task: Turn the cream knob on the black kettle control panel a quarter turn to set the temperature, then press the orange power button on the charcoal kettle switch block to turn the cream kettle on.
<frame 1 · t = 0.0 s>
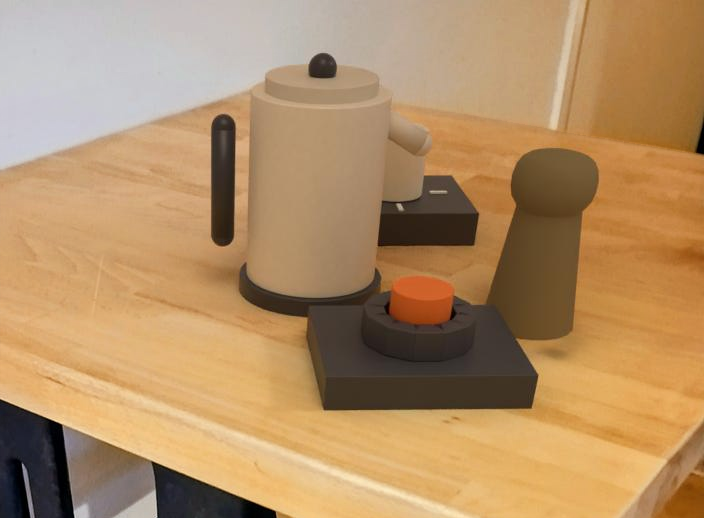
switch block: (412, 371, 62), on the table
temp knob: (395, 158, 81), point 5 cm above the table, hinge at 0.0°
temp panel: (388, 224, 84), on the table
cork: (526, 325, 68), on the table
kettle: (309, 289, 73), on the table
power button: (421, 301, 60), point 4 cm above the table, slide at 0.1 cm
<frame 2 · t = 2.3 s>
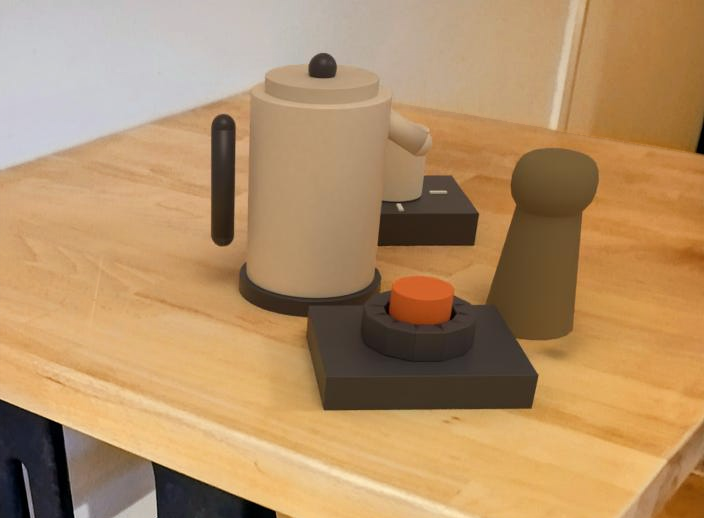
nothing on the table moved.
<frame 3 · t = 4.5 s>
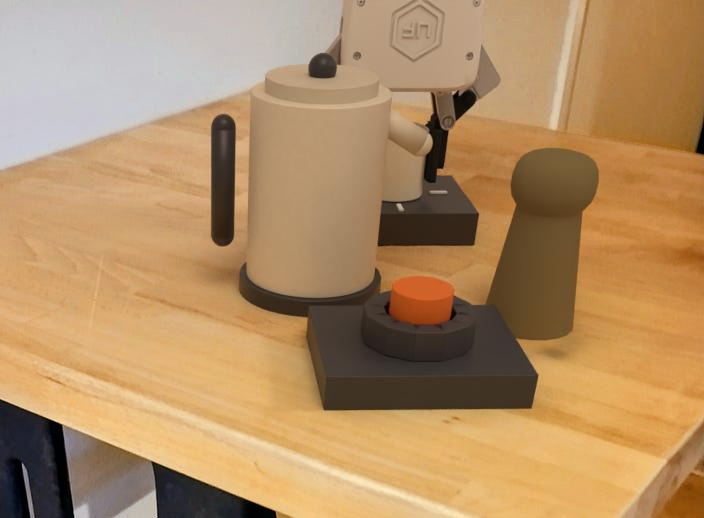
hand: (393, 175, 82), 4 cm above the table, tool pointing down, fingers closed on temp knob, 4 cm apart
temp knob: (395, 158, 81), point 5 cm above the table, hinge at 0.1°, touching gripper
everything else where it was.
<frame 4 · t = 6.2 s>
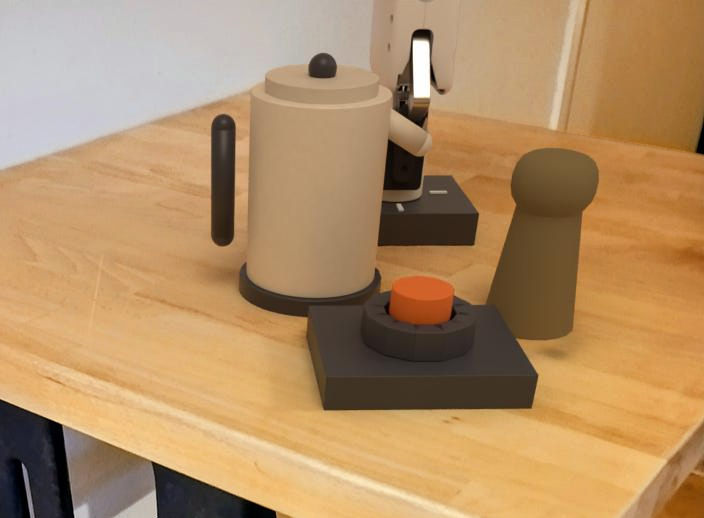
hand: (393, 175, 82), 4 cm above the table, tool pointing down, fingers closed on temp knob, 4 cm apart
temp knob: (395, 158, 81), point 5 cm above the table, hinge at 90.5°, touching gripper
everything else where it was.
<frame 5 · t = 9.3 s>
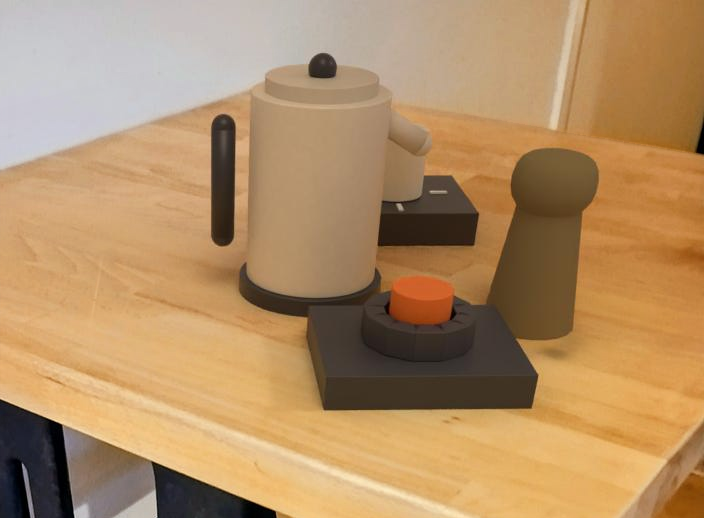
temp knob: (395, 158, 81), point 5 cm above the table, hinge at 89.4°
everything else where it was.
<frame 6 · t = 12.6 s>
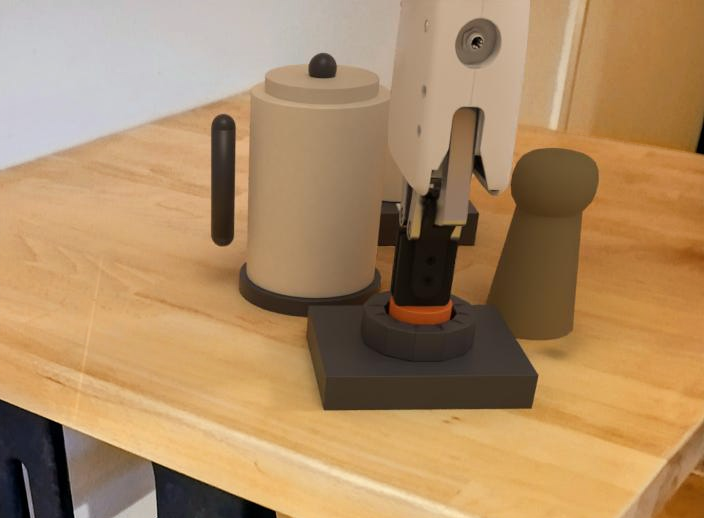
hand: (418, 300, 60), 5 cm above the table, tool pointing down, fingers closed
power button: (419, 314, 60), point 4 cm above the table, slide at -0.7 cm, touching gripper
everything else where it was.
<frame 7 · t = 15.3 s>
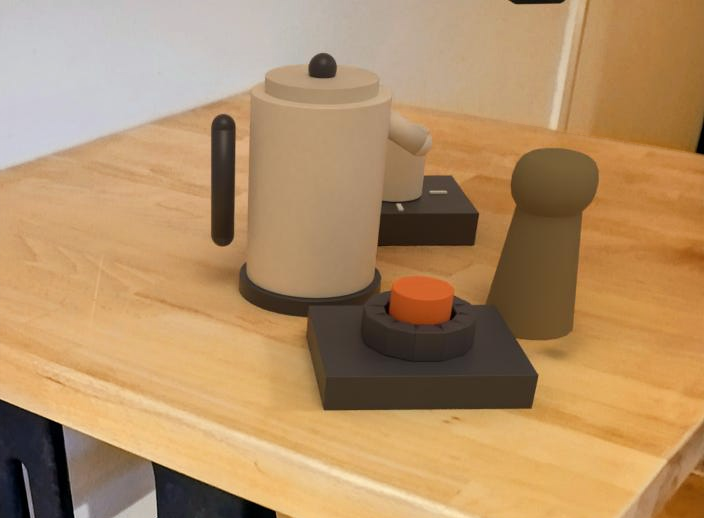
hand: (534, 0, 58), 19 cm above the table, tool pointing down, fingers closed
power button: (421, 301, 60), point 4 cm above the table, slide at 0.1 cm
everything else where it was.
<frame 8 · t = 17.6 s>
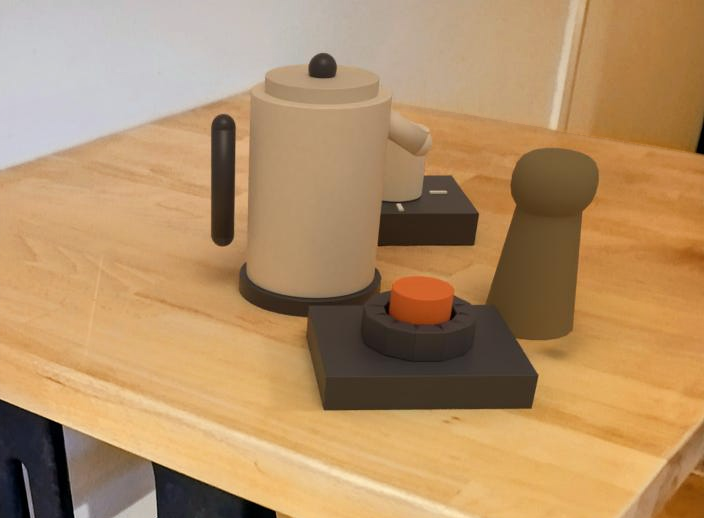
nothing on the table moved.
at the end: temp knob at +89° (first picture: +0°); power button pushed in 1.1 cm at the most during the clip, back to where it started at the end; power button slide at 0.1 cm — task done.
